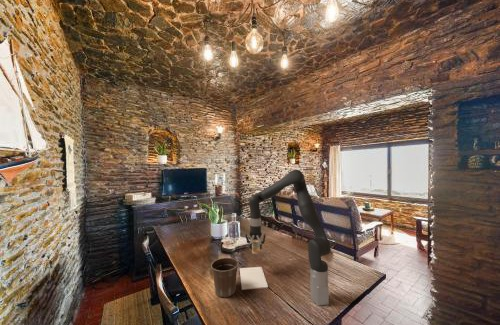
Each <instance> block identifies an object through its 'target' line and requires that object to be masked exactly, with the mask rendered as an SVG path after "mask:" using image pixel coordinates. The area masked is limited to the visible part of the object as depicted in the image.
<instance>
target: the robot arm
mask: <svg viewBox="0 0 500 325" xmlns="http://www.w3.org/2000/svg"><path fill="white" fill-rule="evenodd" d="M305 178H306V177H305V175H304V174H303V172H302V171H301V170H300V169H292V170H291V171H290V172H288V173H287V174H285V176H283V177H282V178H280V179H279V180H278V181H276V182H274V183H273V184H271V185H269V186H268V187H266V188H264V189H263V190H261V191H259V192H256V193H255V194H252V196H250V197H249V200H248V201H249V202H248V203H249V204H248V206H249V212H250V214H249V217H250V218H249V233H245V240H246V243H247V244H249V249H250V250H251V251H252V241H259V244H260V251H261V250H262V249H263V248H262V247H263V246H262V245H264V244H265V241H266V236H267V235H266V233H263V232H262V219H261V218H262V217H261V209H260V204H261V203H262V202H264V201H266V200H269V199H271V198H273V197H274V196H276V195H278V194H279V193H280V192H281V191H282V190H284V189H285V188H287V187H289V186H291V185H292V186H293V188H294V190H295V193H296V197H297V206H298V209H299V212H300V216H301V218H302V219H303V221H304V222H305V223H306V224H307V225H308V226H309V227H310V228H311V229H312V231H313V234H314V236H315V238H312V239H309V241H308V242H307V244H308V245H307V250H308V251H307V253H308V262H309V266H310V268H309V269H310V271H309V272H310V273H309V274H310V276H309V278H310V279H309V280H310V283H309V284H310V300H311V301H312V303H314V304H316V305H317V306H318V307H319V306H329V305H330V298H329V297H330V295H329V290H330V288H329V266H328V263H327V262H326V261H325V260H322V257H323V256H326V255H327V256H328V255H330V253H331V248H332V246H331V244H330V240H329V239H328V237H327V235H326V233H325V230H324V227H323V226H322V223H321V221H320V217H319V216H318V215H319V214H318V211H317V209H316V206H315V204H314V202H313V199H312V197H311V195H310V192H309V190H308V187H307V183H306V179H305ZM249 237H250V238H249ZM261 237H262V239H261Z"/></svg>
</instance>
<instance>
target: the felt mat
mask: <svg viewBox="0 0 500 325" xmlns="http://www.w3.org/2000/svg"><path fill="white" fill-rule="evenodd" d="M239 273H240V274H239V275H240V283H241V284H240V285H241V291H243V290H254V289H255V290H256V289H268V288H269V286H268V282H267V279H266V276H265V274H264V270H263V267H262V266H256V267H255V266H254V267H239Z"/></svg>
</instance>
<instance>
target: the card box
mask: <svg viewBox="0 0 500 325" xmlns="http://www.w3.org/2000/svg"><path fill="white" fill-rule="evenodd" d="M251 251H252V255H254V254H255V255H257V254H258V255H259V254H261V250H260V243H259V241H258V240H253V241H252V250H251Z"/></svg>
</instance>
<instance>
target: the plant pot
mask: <svg viewBox="0 0 500 325" xmlns="http://www.w3.org/2000/svg"><path fill="white" fill-rule="evenodd" d="M210 267H211V272H212V275H213V276H212V277H213V283H214V284H213V285H214V294H215V295H216V296H217V297H219V298H228V297H231V296H232V295H234V294H235V292H236V290H237V272H238V267H239V261H238V260H237V259H236V258H232V257H221V258H218V259H215V260H213V262H211V265H210Z"/></svg>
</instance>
